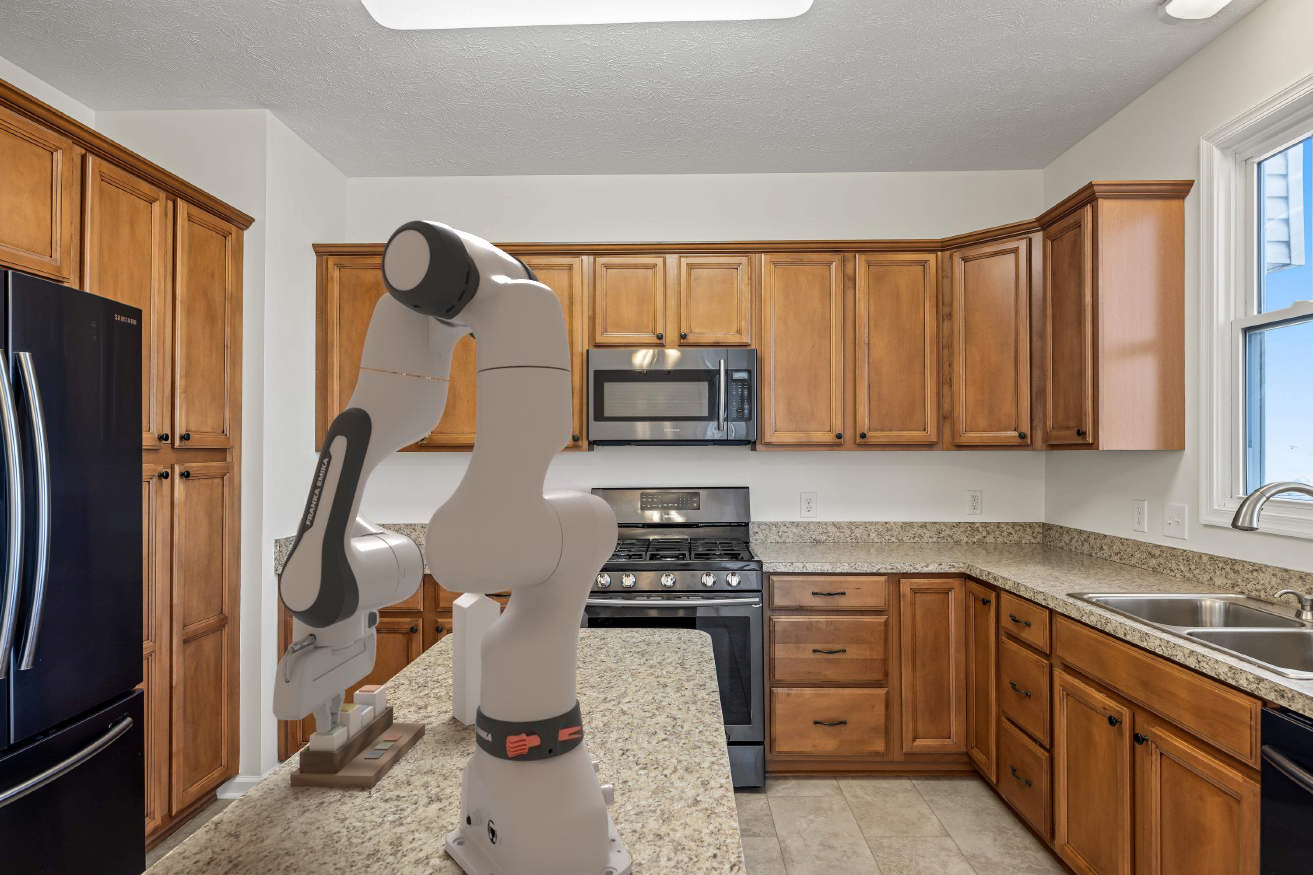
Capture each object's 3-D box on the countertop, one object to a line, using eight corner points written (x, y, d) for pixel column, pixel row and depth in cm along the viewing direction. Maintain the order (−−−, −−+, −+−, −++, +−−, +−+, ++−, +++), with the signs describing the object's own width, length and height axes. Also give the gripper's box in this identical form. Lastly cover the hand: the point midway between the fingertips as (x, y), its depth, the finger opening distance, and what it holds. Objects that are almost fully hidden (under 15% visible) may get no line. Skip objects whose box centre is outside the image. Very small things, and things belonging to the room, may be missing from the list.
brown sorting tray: (372, 787, 91) (372, 754, 91) (290, 785, 91) (290, 753, 91) (425, 732, 109) (425, 705, 109) (356, 731, 109) (356, 704, 109)
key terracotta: (375, 718, 104) (375, 691, 104) (353, 718, 104) (353, 691, 105) (385, 710, 108) (385, 684, 108) (364, 710, 108) (364, 683, 108)
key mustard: (349, 740, 96) (349, 710, 96) (325, 740, 96) (325, 710, 97) (361, 731, 100) (361, 702, 100) (338, 730, 100) (338, 701, 100)
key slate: (362, 741, 100) (362, 712, 100) (339, 740, 100) (339, 711, 100) (373, 731, 104) (373, 703, 104) (351, 731, 104) (351, 703, 104)
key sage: (334, 765, 92) (334, 734, 92) (309, 764, 92) (309, 733, 93) (346, 754, 96) (347, 724, 96) (322, 753, 96) (323, 723, 96)
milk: (465, 726, 111) (465, 588, 112) (451, 715, 116) (451, 582, 116) (501, 717, 115) (500, 583, 115) (486, 707, 120) (485, 578, 120)
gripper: (309, 647, 84) (308, 762, 84) (384, 609, 104) (383, 702, 104) (259, 646, 84) (257, 761, 84) (343, 609, 105) (342, 701, 104)
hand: (328, 728), depth 94 cm, fingers closed, pressing on key sage
